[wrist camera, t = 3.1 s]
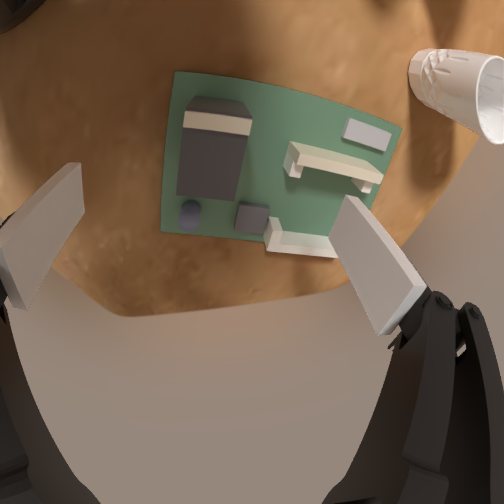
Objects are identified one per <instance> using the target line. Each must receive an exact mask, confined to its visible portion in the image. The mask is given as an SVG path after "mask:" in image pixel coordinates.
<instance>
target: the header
mask: <svg viewBox="0 0 504 504" xmlns="http://www.w3.org/2000/svg"><path fill="white" fill-rule="evenodd" d="M304 166H307V167H311V168H316V169H320V170H325V171H329V172H333V173H338V174H342V175H346V176H350V177H352V179H351V181H352V182H353V183H354V184H355V185H356V186H357V187H358V189H359V190H360V191H361V192H365V193H369V194H370V191H371V189H372V186H373V184H374V183H376V184H379V185H380V184H381V181H382V179H383V176H384V175H383V174H382V173H381V172H380V171H378V170H377V169H376V168H375V167H374V166H372V165H371V164H370V163H369V162H367V161H365V160H362V159H358V158H355V157H352V156H348V155H345V154H341V153H337V152H334V151H330V150H326V149H322V148H318V147H314V146H310V145H306V144H301V143H297V142H292V141H290V142H289V145H288V149H287V153H286V156H285V160H284V163H283V167H284V169H285V170H286V172H287V174H288V175H289V176H290V177H296V178H300V176H301V173H302V170H303V167H304ZM332 227H333V226H332ZM331 230H332V229H331ZM330 232H331V231H330ZM329 235H330V233H329ZM328 237H329V236H320V235H313V234H305V233H297V232H289V231H283V230H282V227H281V224H280V222H279V219H278V218H276V217H268V221H267V224H266V228H265V231H264V235H263V238H264V242H265V246H266V250H267V251H271V252H281V253H291V254H302V255H312V256H322V257H332V258H338V256H337V254H336V252H335V250H334V248H333V246H332V245H331V243H330V241H329V239H328Z"/></svg>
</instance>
